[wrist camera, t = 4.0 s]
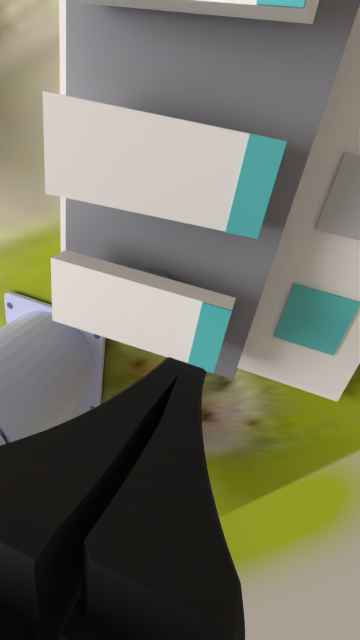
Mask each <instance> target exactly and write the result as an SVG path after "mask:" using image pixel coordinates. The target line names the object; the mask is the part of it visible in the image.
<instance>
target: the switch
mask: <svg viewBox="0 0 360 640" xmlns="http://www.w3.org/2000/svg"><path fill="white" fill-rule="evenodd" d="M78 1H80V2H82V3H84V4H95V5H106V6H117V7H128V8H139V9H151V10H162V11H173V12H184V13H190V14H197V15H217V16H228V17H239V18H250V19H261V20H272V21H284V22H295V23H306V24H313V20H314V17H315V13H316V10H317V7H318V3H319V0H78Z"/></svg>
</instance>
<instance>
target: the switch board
mask: <svg viewBox="0 0 360 640" xmlns="http://www.w3.org/2000/svg"><path fill="white" fill-rule="evenodd" d="M59 22H60V94H62V95H67V96H72V97H76V98H81V99H86V100H91V101H96V102H101V103H105V104H110V105H115V106H120V107H125V108H130V109H134V110H139V111H144V112H149V113H154V114H159V115H163V116H168V117H173V118H178V119H183V120H188V121H192V122H197V123H202V124H207V125H212V126H217V127H221V128H226V129H231V130H236V131H241V132H246V133H250V134H255V135H260V136H265V137H270V138H275V139H279V140H283V141H287V143H286V147H285V150H284V153H283V156H282V160H281V163H280V166H279V170H278V173H277V176H276V180H275V183H274V186H273V190H272V193H271V196H270V200H269V203H268V206H267V209H266V213H265V216H264V219H263V223H262V226H261V229H260V233H259V236H258V239H255V238H250V237H245V236H240V235H236V234H231V233H226V232H225V231H220V230H216V229H211V228H206V227H201V226H197V225H192V224H187V223H182V222H178V221H173V220H168V219H163V218H159V217H154V216H149V215H145V214H140V213H135V212H130V211H126V210H121V209H116V208H111V207H107V206H102V205H97V204H92V203H88V202H83V201H78V200H73V199H69V198H64V197H61V252H63V251H65V250H69V251H72V252H76V253H79V254H83V255H87V256H90V257H94V258H97V259H101V260H104V261H108V262H111V263H115V264H118V265H122V266H125V267H129V268H150V269H155V270H158V271H160V272H162V273H164V274H166V275H167V276H168V277H169V279H171V280H175V281H178V282H182V283H185V284H189V285H192V286H196V287H199V288H203V289H206V290H210V291H214V292H217V293H221V294H224V295H228V296H231V297H235V298H236V299H235V303H234V306H233V310H232V313H231V316H230V320H229V323H228V326H227V330H226V333H225V337H224V340H223V343H222V347H221V350H220V354H219V357H218V360H217V363H216V366H215V370H214V374H217V375H220V376H223V377H226V378H229V379H232V380H233V378H234V375H235V372H236V369H237V368H239V369H242V370H245V371H248V372H251V373H254V374H256V375H259V376H262V377H265V378H268V379H271V380H274V381H277V382H280V383H283V384H286V385H289V386H292V387H295V388H298V389H301V390H304V391H307V392H310V393H313V394H316V395H319V396H322V397H325V398H328V399H331V400H334V401H336V402H338V400H339V398H340V397H341V395H342V393H343V391H344V390H345V388H346V386H347V384H348V383H349V381H350V379H351V377H352V376H353V374H354V372H355V370H356V369H357V367H358V365H359V363H360V0H319V3H318V7H317V10H316V13H315V17H314V20H313V24H306V23H295V22H284V21H272V20H261V19H250V18H239V17H228V16H217V15H197V14H190V13H184V12H173V11H162V10H151V9H139V8H128V7H117V6H106V5H95V4H84V3H82V2H80V1H78V0H59Z"/></svg>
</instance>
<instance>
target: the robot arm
mask: <svg viewBox="0 0 360 640" xmlns="http://www.w3.org/2000/svg"><path fill="white" fill-rule="evenodd" d="M4 303H5V312H6V322H7V325H5V326H3V327H2V328H0V640H245V622H244V610H243V601H242V591H241V583H240V580H239V577H238V575H237V572H236V569H235V566H234V564H233V561H232V558H231V555H230V552H229V549H228V546H227V543H226V540H225V537H224V534H223V530H222V527H221V524H220V521H219V517H218V513H217V509H216V505H215V501H214V497H213V494H212V490H211V485H210V480H209V475H208V470H207V465H206V459H205V452H204V444H203V434H202V418H201V399H202V387H203V382H204V379H205V375H206V371H205V370H204V369H203V368H200V367H197V366H194V365H191V364H188V363H186V362H183V361H180V360H177V359H174V358H171V357H169V358H166V359H165V360H164V361H163V362H162V363H160V364H159V365H158V366H157V367H155V368H154V369H153V370H152V371H150V372H149V373H148V374H146V375H145V376H144V377H142V378H141V379H140V380H138V381H137V382H135V383H134V384H132V385H131V386H130V387H128V388H127V389H125V390H124V391H122V392H120V393H119V394H117V395H115V396H114V397H112V398H111V399H109V400H107V401H106V402H104V403H102V404H101V393H102V380H103V367H104V354H105V341H106V338H105V337H102V336H98V335H96V334H93V333H90V332H87V331H84V330H80V329H77V328H74V327H71V326H68V325H65V324H62V323H58V322H55V321H52V305H51V304H48V303H45V302H42V301H39V300H36V299H33V298H30V297H27V296H24V295H21V294H18V293H15V292H12V291H10V292H7V293H5V295H4ZM12 305H13V306H12ZM93 406H94V407H93Z"/></svg>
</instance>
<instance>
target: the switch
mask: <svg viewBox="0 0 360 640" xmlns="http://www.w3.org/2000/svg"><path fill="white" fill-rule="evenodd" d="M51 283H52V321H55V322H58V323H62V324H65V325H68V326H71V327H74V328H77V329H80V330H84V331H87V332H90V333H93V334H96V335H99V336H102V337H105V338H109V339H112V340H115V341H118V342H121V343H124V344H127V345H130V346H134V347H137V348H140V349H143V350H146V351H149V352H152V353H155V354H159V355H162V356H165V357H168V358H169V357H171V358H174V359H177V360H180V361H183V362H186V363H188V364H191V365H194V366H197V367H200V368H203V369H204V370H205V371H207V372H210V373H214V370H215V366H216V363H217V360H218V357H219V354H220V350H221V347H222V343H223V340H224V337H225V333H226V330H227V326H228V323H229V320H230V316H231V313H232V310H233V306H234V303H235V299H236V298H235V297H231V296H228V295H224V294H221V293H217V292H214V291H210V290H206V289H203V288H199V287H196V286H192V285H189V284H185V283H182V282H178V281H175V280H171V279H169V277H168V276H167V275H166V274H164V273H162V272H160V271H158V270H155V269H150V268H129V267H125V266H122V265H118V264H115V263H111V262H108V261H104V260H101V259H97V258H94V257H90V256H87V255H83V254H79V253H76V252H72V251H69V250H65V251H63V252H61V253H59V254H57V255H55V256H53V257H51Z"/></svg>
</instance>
